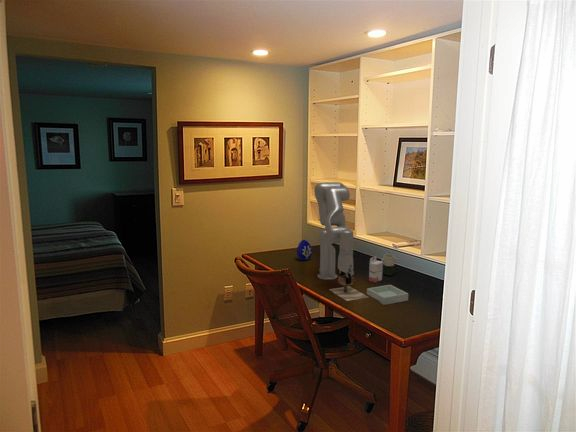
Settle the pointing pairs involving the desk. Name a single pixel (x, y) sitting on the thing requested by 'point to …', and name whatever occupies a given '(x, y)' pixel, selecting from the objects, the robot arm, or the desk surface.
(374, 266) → the ink cartridge box
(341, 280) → the tabbed ring
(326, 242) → the robot arm
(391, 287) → the tray
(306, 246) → the ornament
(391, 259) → the character mug
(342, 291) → the stake board
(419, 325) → the desk surface
